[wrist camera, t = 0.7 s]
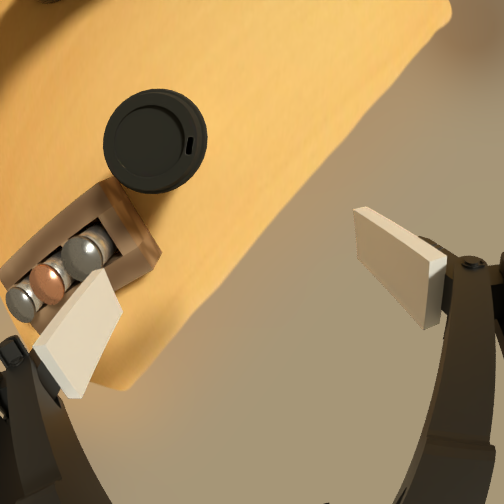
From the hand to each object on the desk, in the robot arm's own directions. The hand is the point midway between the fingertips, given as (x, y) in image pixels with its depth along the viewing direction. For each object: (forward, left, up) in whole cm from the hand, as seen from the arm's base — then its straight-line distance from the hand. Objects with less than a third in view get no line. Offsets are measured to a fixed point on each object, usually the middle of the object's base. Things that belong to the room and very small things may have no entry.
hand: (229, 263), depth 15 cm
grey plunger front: (-2, -19, -23) cm, 30 cm away
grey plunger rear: (-2, -34, -23) cm, 41 cm away
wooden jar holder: (-2, -26, -27) cm, 37 cm away
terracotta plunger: (-3, -26, -23) cm, 35 cm away
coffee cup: (-8, -3, -27) cm, 28 cm away
